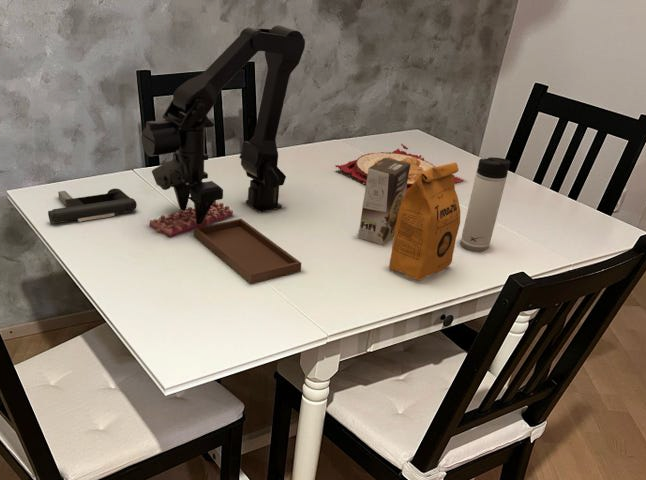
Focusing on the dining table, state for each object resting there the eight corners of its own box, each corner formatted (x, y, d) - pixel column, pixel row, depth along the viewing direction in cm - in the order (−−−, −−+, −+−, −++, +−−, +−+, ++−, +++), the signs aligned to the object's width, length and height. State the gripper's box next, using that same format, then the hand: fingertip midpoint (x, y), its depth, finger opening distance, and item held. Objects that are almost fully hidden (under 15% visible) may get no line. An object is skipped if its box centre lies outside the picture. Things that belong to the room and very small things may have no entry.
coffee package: (457, 271, 154) (481, 168, 142) (417, 287, 148) (438, 180, 135) (421, 253, 161) (441, 153, 148) (381, 267, 154) (398, 164, 142)
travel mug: (474, 254, 161) (495, 165, 150) (454, 242, 166) (473, 154, 155) (495, 250, 164) (518, 161, 153) (475, 238, 169) (496, 151, 157)
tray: (240, 226, 167) (241, 218, 166) (300, 271, 151) (301, 262, 150) (193, 236, 162) (193, 227, 161) (250, 284, 145) (250, 274, 144)
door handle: (32, 191, 171) (52, 214, 159) (115, 180, 180) (140, 200, 168) (34, 205, 173) (53, 228, 161) (116, 193, 181) (140, 215, 170)
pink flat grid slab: (147, 226, 164) (146, 218, 163) (212, 206, 176) (212, 198, 174) (167, 238, 160) (167, 229, 159) (232, 216, 171) (233, 208, 170)
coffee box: (383, 245, 163) (395, 174, 154) (357, 238, 165) (367, 167, 156) (399, 232, 169) (412, 163, 160) (374, 224, 172) (384, 156, 163)
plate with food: (332, 171, 200) (334, 159, 198) (397, 153, 213) (399, 141, 211) (398, 202, 185) (400, 189, 183) (464, 180, 199) (466, 168, 197)
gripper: (137, 140, 161) (140, 208, 170) (176, 168, 148) (177, 240, 157) (183, 134, 166) (184, 200, 175) (225, 160, 153) (223, 230, 162)
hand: (190, 217), depth 167 cm, fingers closed on pink flat grid slab, 7 cm apart
